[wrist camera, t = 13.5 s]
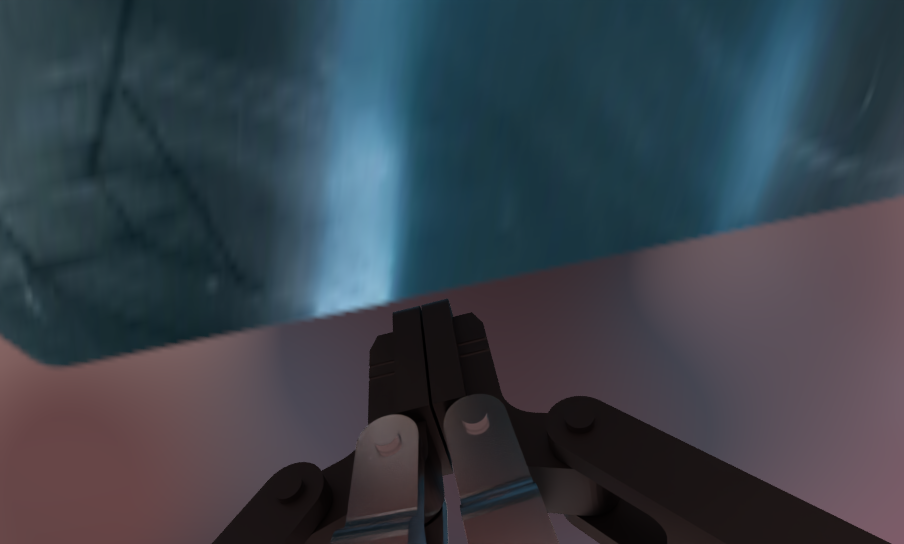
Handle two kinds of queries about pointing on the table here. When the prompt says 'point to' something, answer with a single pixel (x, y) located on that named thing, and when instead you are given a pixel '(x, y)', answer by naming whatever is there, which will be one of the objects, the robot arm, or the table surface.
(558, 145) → the table surface
